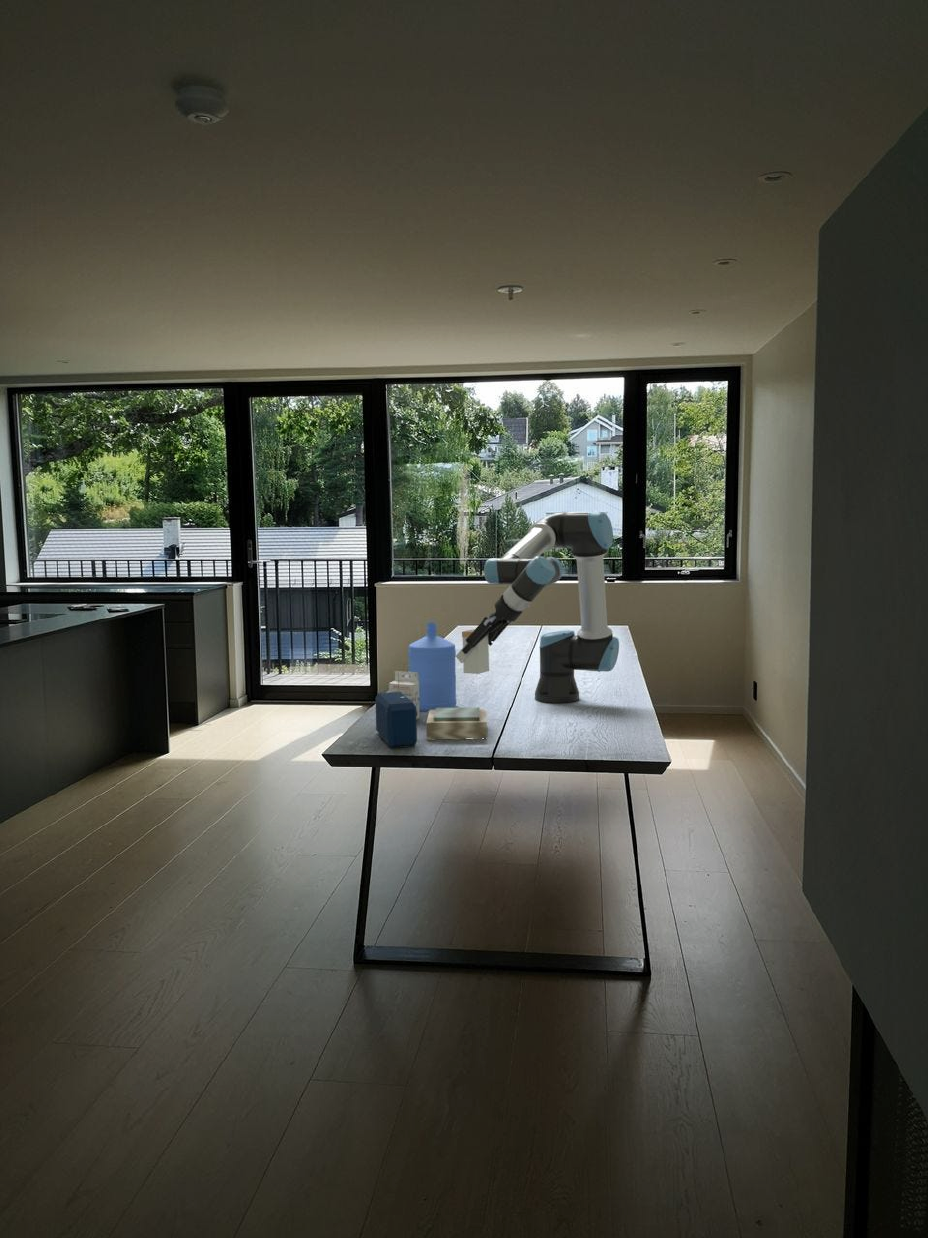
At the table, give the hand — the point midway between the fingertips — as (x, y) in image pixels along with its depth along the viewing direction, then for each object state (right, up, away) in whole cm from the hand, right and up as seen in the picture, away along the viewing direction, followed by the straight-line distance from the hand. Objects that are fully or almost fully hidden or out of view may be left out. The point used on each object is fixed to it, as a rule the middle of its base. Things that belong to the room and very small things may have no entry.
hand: (465, 657), depth 268 cm
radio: (-19, -23, -6) cm, 31 cm away
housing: (+3, -4, -2) cm, 5 cm away
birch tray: (-2, -22, +1) cm, 22 cm away
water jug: (-11, -18, +36) cm, 42 cm away
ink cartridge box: (-19, -20, +20) cm, 34 cm away
